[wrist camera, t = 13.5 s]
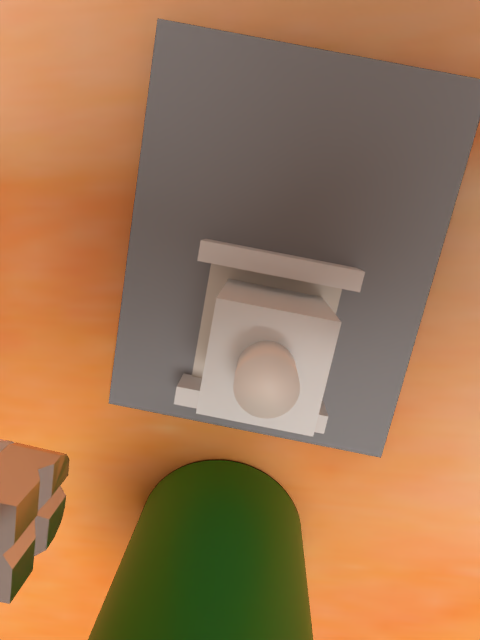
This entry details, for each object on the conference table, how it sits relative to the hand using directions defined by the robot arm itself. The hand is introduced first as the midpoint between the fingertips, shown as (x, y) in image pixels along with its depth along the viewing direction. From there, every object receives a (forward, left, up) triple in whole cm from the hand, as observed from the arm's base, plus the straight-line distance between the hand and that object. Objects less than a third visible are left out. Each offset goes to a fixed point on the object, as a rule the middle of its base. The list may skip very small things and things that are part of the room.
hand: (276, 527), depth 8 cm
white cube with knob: (0, 0, -16) cm, 16 cm away
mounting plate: (-4, 0, -17) cm, 17 cm away
